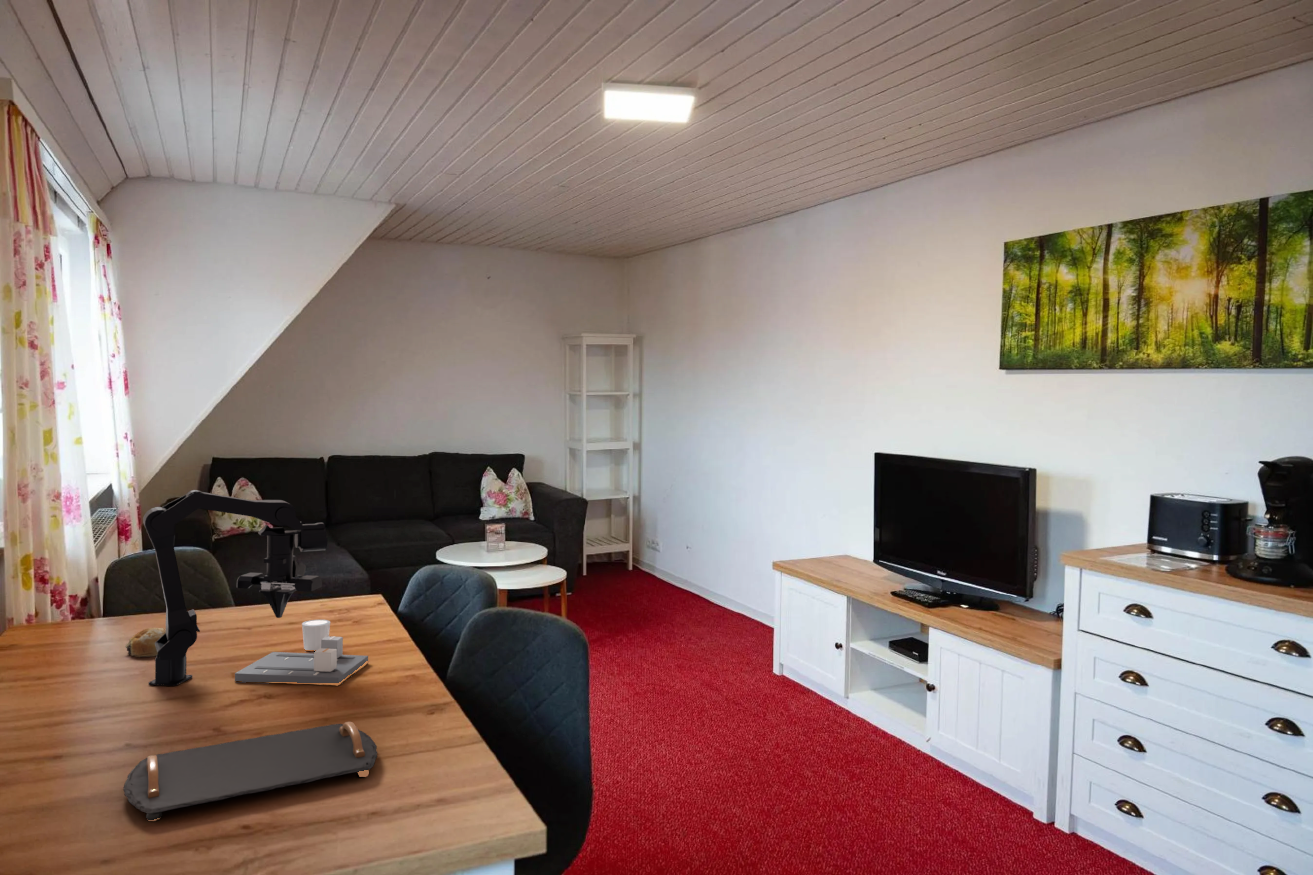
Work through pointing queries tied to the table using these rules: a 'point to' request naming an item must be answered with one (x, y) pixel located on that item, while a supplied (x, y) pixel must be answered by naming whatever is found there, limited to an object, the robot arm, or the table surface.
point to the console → (297, 669)
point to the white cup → (314, 633)
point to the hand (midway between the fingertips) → (279, 617)
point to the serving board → (247, 767)
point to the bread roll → (145, 642)
